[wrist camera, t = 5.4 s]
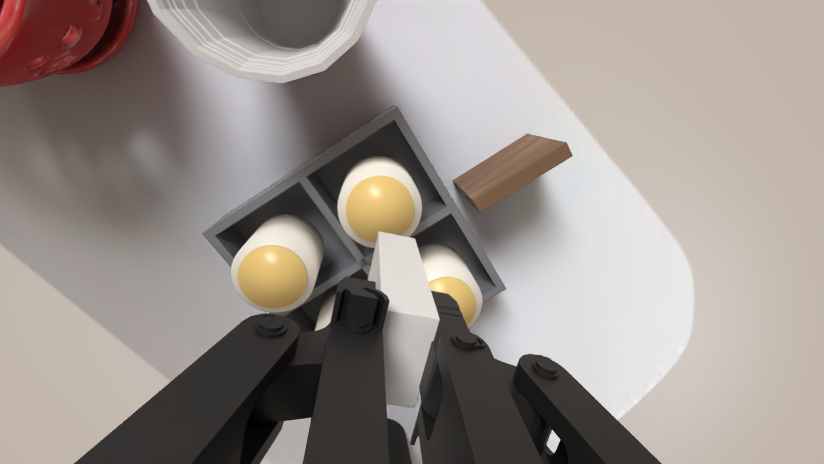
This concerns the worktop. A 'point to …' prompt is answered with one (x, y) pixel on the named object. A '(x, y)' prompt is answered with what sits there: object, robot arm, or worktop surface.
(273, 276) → the button
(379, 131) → the button board
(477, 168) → the placard
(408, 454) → the drinking cup
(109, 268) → the worktop surface
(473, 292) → the button
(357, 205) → the button
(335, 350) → the robot arm
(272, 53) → the plastic cup
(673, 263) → the worktop surface
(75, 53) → the plant pot
